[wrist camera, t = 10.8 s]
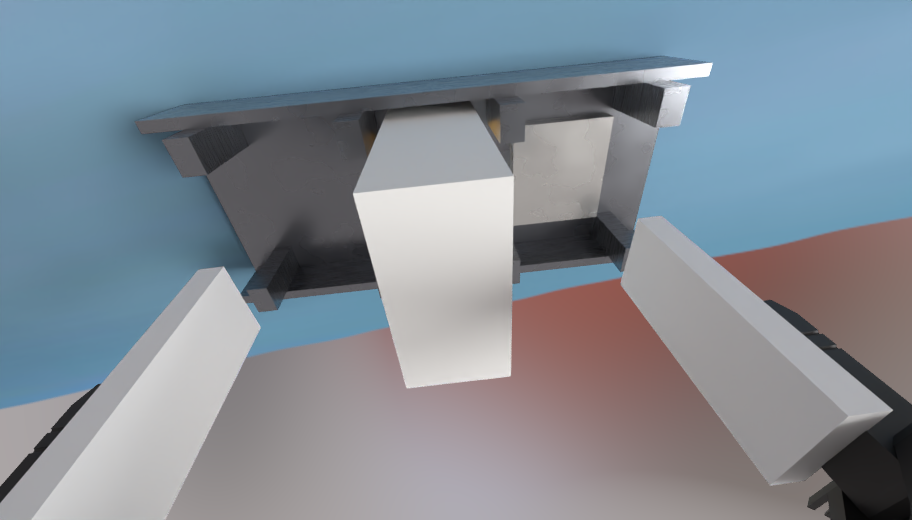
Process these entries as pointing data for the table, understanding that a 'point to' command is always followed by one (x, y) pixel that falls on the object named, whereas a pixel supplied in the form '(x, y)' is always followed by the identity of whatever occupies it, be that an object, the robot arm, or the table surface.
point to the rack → (364, 108)
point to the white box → (441, 242)
